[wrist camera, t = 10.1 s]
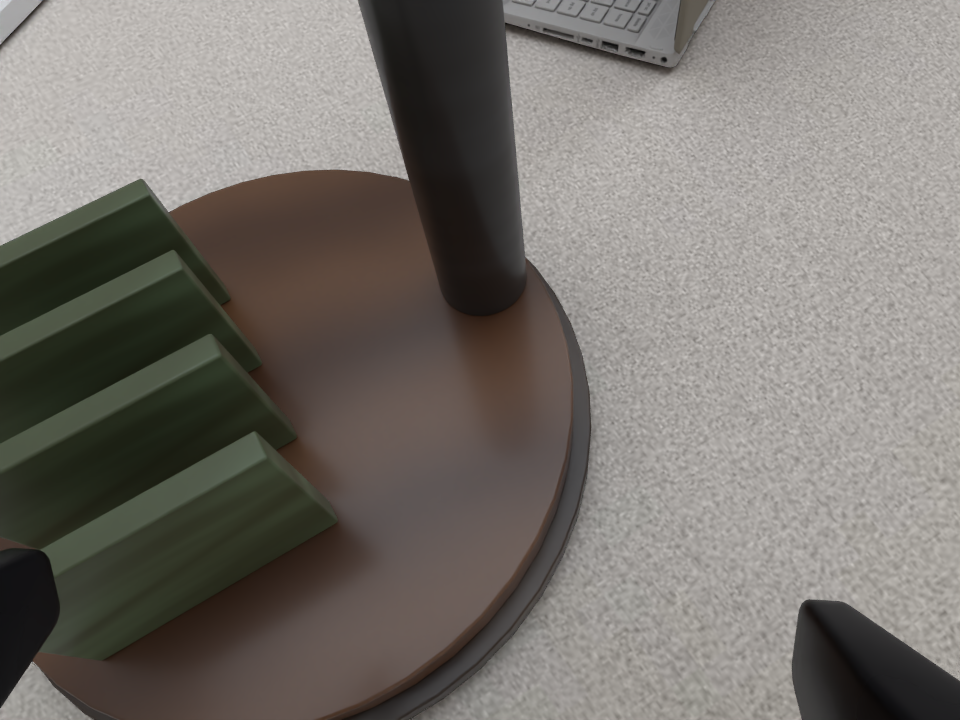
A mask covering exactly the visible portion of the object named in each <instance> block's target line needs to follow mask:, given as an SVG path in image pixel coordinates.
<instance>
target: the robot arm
mask: <svg viewBox="0 0 960 720" xmlns="http://www.w3.org/2000/svg"><path fill="white" fill-rule="evenodd" d="M59 615H60V602H59V597H58V593H57V588H56V584H55V580H54V575H53V571H52V567H51V562H50V559H49V557H48V556H47V555H46V553H45V552H43V551H41V550H38V549H24V548H8V549H5V550H2V551H0V708H1V706H2V705H3V704H4V702H5V701H6V699H7V698H8V696H9V695H10V693H11V692H12V690H13V689H14V687H15V686H16V684H17V683H18V681H19V680H20V678H21V677H22V675H23V674H24V672H25V671H26V669H27V668H28V666H29V665H30V663H31V662H32V661H33V659H34V658H35V656H36V655H37V653H38V652H39V650H40V649H41V647H42V646H43V644H44V643H45V641H46V640H47V638H48V637H49V635H50V634H51V632H52V631H53V629H54V628H55V626H56V624H57V621H58V619H59ZM792 679H793V685H794V690H795V694H796V698H797V702H798V706H799V710H800V714H801V718H802V720H960V681H959V680H958V679H956V678H955V677H953V676H952V675H950V674H949V673H947V672H946V671H944V670H943V669H942V668H940V667H939V666H937V665H936V664H934V663H933V662H931V661H930V660H928V659H927V658H925V657H924V656H923V655H921V654H920V653H918V652H917V651H915V650H914V649H912V648H911V647H909V646H908V645H906V644H905V643H904V642H902V641H901V640H899V639H898V638H896V637H895V636H893V635H892V634H890V633H889V632H887V631H886V630H885V629H883V628H882V627H880V626H879V625H877V624H876V623H874V622H873V621H871V620H870V619H869V618H867V617H866V616H864V615H863V614H861V613H860V612H858V611H857V610H855V609H854V608H852V607H851V606H849V605H848V604H846V603H844V602H840V601H827V600H810V599H809V600H806V601H804V602H803V603H802V605H801V607H800V609H799V614H798V621H797V629H796V636H795V643H794V651H793V658H792Z"/></svg>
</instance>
